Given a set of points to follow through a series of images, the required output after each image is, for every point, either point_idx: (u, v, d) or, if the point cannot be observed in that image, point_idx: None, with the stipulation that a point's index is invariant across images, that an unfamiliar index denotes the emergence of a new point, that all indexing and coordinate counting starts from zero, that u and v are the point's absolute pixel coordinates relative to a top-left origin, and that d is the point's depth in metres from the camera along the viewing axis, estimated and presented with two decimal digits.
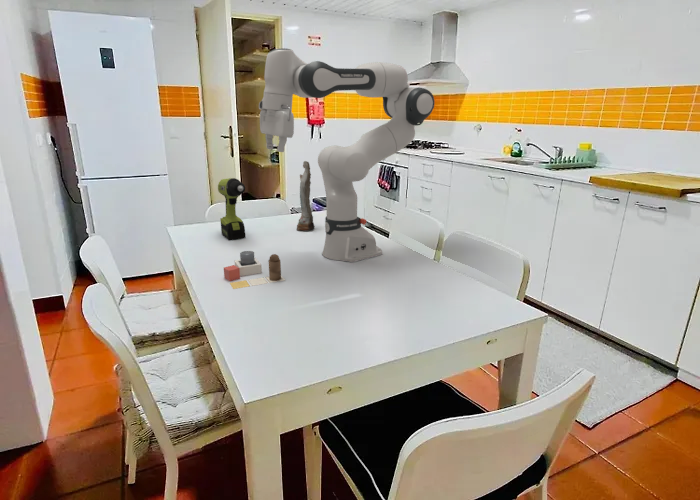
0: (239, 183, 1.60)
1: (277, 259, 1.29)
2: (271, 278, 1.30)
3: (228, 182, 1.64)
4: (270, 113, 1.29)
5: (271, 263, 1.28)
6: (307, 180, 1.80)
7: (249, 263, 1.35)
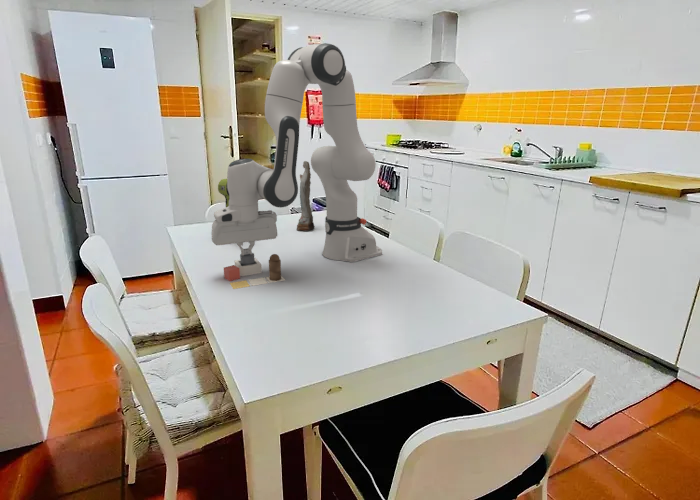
0: None
1: (277, 259, 1.29)
2: (271, 278, 1.30)
3: None
4: (251, 222, 1.31)
5: (271, 263, 1.28)
6: (307, 180, 1.80)
7: (249, 264, 1.35)
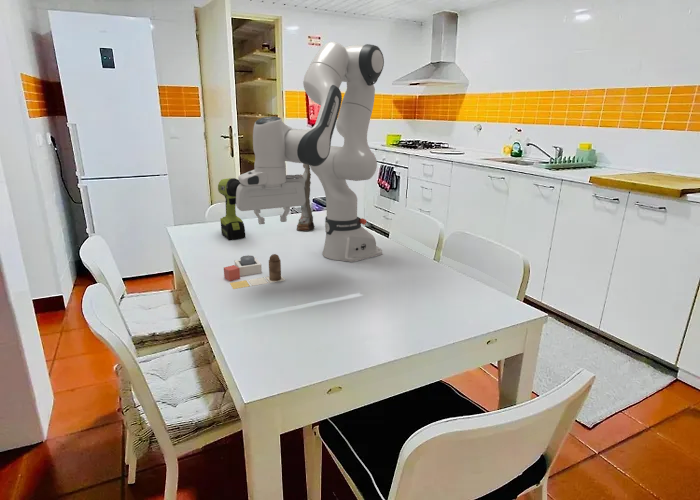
0: (239, 183, 1.60)
1: (277, 259, 1.29)
2: (271, 278, 1.30)
3: (228, 182, 1.64)
4: (279, 187, 1.21)
5: (271, 263, 1.28)
6: (307, 180, 1.80)
7: None
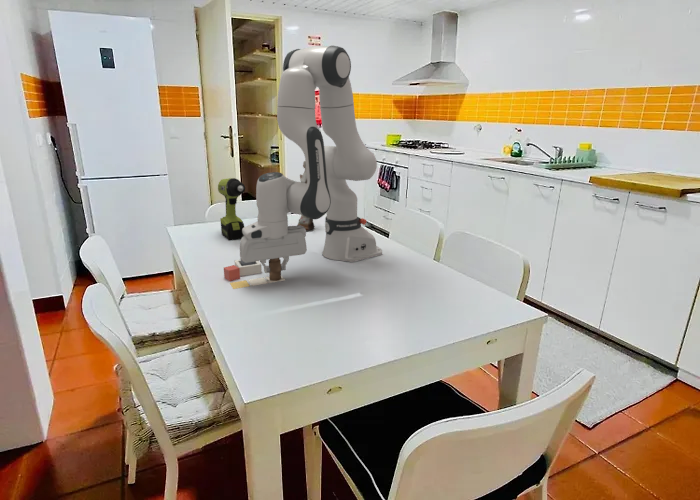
0: (239, 183, 1.60)
1: (277, 259, 1.29)
2: (271, 278, 1.30)
3: (228, 182, 1.64)
4: (281, 238, 1.26)
5: (271, 263, 1.28)
6: None
7: None
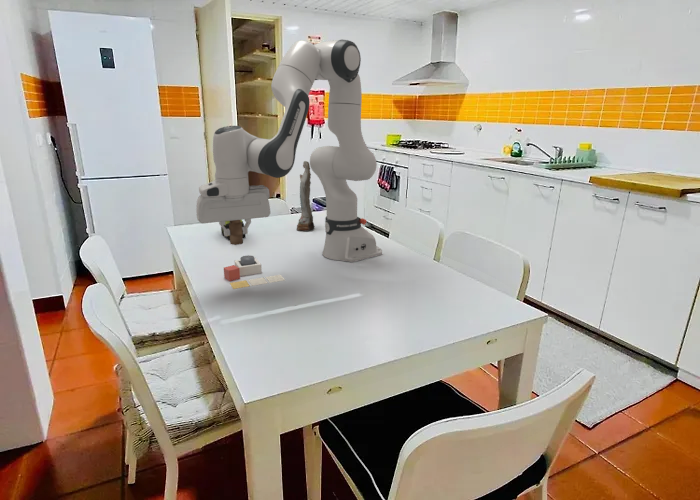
0: None
1: (238, 221, 1.20)
2: (231, 242, 1.21)
3: None
4: (241, 198, 1.17)
5: (231, 225, 1.19)
6: (307, 180, 1.80)
7: None
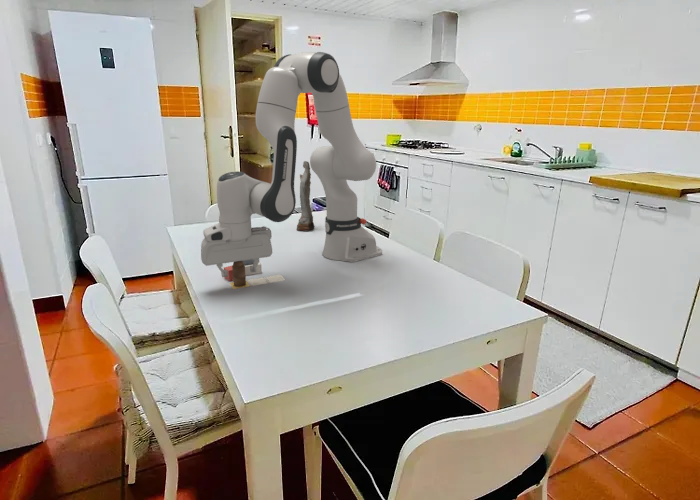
0: None
1: (241, 264, 1.24)
2: (235, 284, 1.25)
3: None
4: (244, 240, 1.21)
5: (234, 268, 1.24)
6: (307, 180, 1.80)
7: None
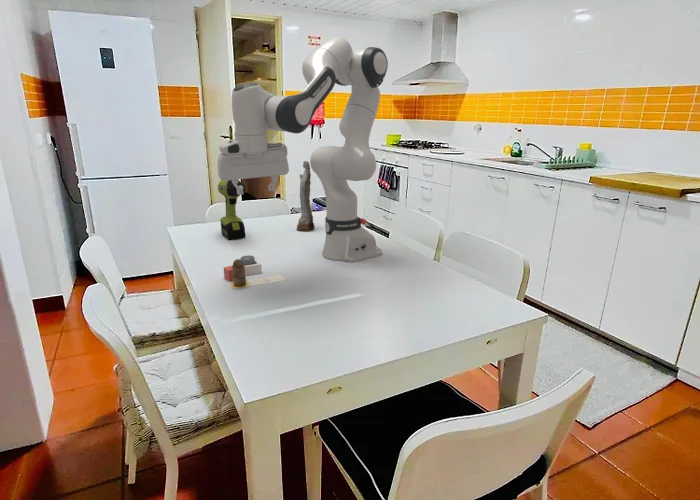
0: (239, 183, 1.60)
1: (240, 264, 1.24)
2: (235, 284, 1.25)
3: (228, 182, 1.64)
4: (260, 155, 1.20)
5: (234, 268, 1.24)
6: (307, 180, 1.80)
7: None
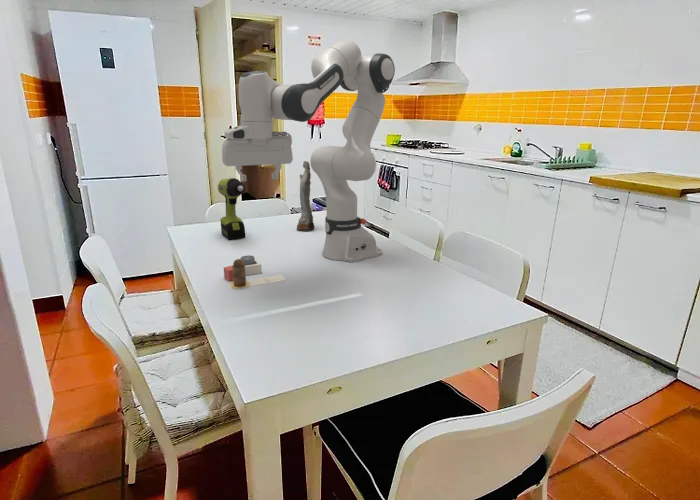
0: (239, 183, 1.60)
1: (241, 264, 1.24)
2: (235, 284, 1.25)
3: (228, 182, 1.64)
4: (265, 142, 1.20)
5: (234, 268, 1.24)
6: (307, 180, 1.80)
7: None
